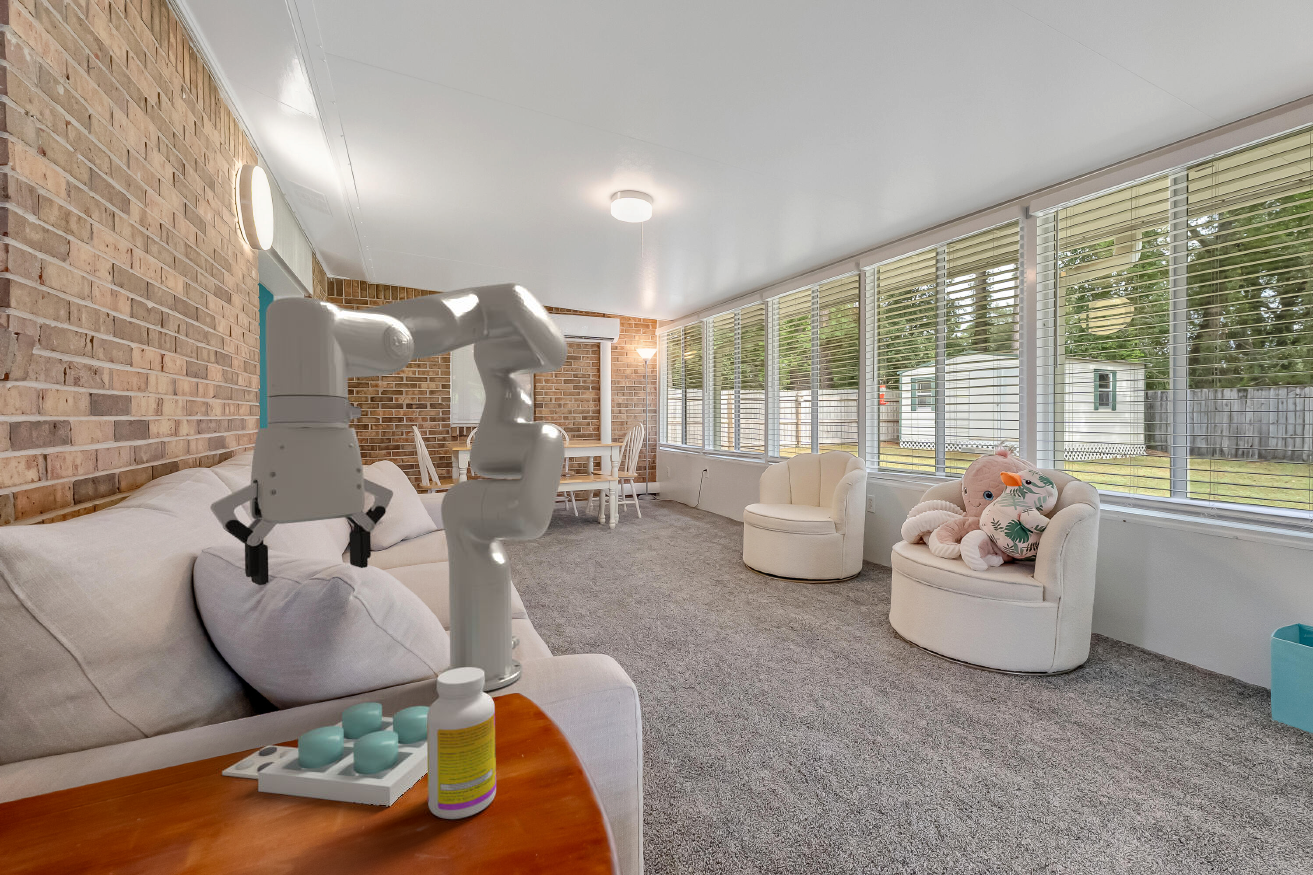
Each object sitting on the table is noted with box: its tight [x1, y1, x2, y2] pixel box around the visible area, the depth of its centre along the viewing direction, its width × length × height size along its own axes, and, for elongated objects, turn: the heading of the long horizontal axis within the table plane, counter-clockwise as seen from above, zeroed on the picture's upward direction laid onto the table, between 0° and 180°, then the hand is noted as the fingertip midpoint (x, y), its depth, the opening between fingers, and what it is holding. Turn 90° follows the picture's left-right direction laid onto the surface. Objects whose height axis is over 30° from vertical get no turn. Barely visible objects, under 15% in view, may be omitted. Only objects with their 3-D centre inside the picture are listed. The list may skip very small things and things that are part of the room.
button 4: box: [392, 705, 430, 744], centre depth 70 cm, size 4×4×2 cm
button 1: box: [297, 725, 344, 768], centre depth 65 cm, size 4×4×2 cm
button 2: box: [341, 701, 383, 739], centre depth 71 cm, size 4×4×2 cm
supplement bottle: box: [427, 667, 497, 820], centre depth 60 cm, size 7×7×13 cm
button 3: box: [353, 731, 398, 774], centre depth 64 cm, size 4×4×2 cm
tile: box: [221, 744, 298, 780], centre depth 68 cm, size 6×6×1 cm
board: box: [257, 716, 428, 807], centre depth 67 cm, size 14×16×2 cm
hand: (312, 574), depth 63 cm, fingers open, 9 cm apart
